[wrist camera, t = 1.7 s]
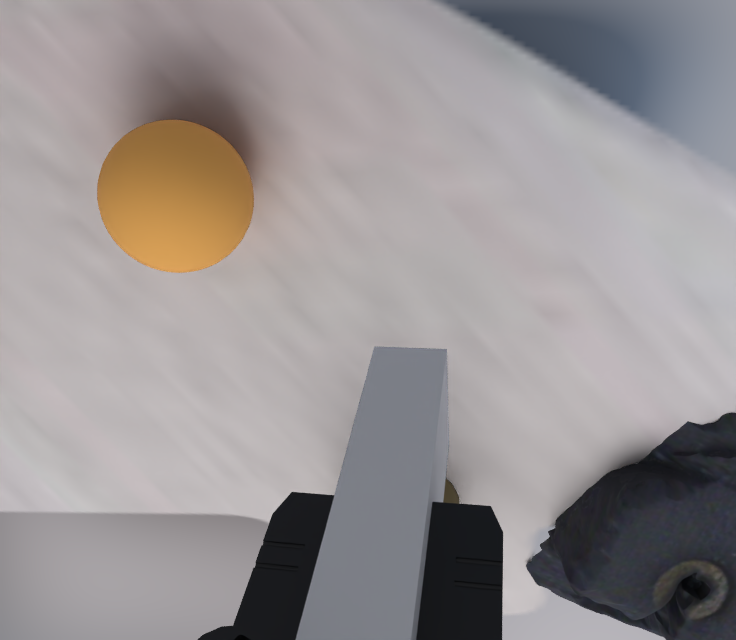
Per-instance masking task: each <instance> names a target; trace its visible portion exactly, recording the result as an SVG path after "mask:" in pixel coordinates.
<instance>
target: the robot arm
mask: <svg viewBox="0 0 736 640" xmlns="http://www.w3.org/2000/svg"><path fill="white" fill-rule="evenodd" d="M448 450H449V424H448V376H447V349H427V348H400V347H374V351H373V354H372V358H371V362H370V365H369V369H368V373H367V376H366V380H365V384H364V388H363V391H362V395H361V399H360V402H359V406H358V410H357V414H356V417H355V421H354V425H353V428H352V432H351V436H350V440H349V443H348V447H347V451H346V454H345V458H344V462H343V466H342V469H341V473H340V477H339V480H338V484H337V488H336V491H335V495H323V494H310V493H298V492H291V494H290V495H289V496H288V497H287V498H286V499H285V501H284V502H283V503H282V504H281V505H280V506H279V507H278V509H277V510H276V511H275V512H274V513H273V515H272V517H271V520H270V523H269V526H268V529H267V532H266V534H265V538H264V540H263V541H264V542H263V546H261V549H260V551H259V554H258V557H257V560H256V566H255V568H253V571H252V574H251V577H250V580H249V582H248V585H247V588H246V591H245V594H244V596H243V599H242V602H241V605H240V608H239V611H238V613H237V616H236V619H235V622H234V625H233V626H226V627H225V626H224V627H220V628H217V629H216V630H213V631H211V632H208V633H206V634H204V635H202V636H201V637H200V638H199V639H198V640H502V586H503V531H502V529H501V527H500V525H499V523H498V521H497V518H496V516H495V514H494V512H493V510H492V508H491V506H482V505H469V504H457V503H444V502H443V499H444V490H445V480H446V470H447V460H448Z"/></svg>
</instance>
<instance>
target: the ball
mask: <svg viewBox="0 0 736 640" xmlns="http://www.w3.org/2000/svg"><path fill="white" fill-rule="evenodd" d="M97 199H98V206H99V210H100V214H101V217H102V220H103V222H104V225H105V227H106V229H107V231H108V233H109V234H110V235H111V237H112V238H113V240H114V241H115V242H116V243H117V245H118V246H119V247H120V248H121V249H122V250H123V251H124V252H126V253H127V254H128V255H129V256H131V257H132V258H134V259H135V260H137V261H138V262H140V263H142V264H144V265H146V266H148V267H151V268H154V269H157V270H161V271H166V272H176V273H183V272H192V271H197V270H201V269H204V268H207V267H210V266H212V265H214V264H216V263H218V262H219V261H221V260H222V259H224V258H225V257H226V256H228V255H229V254H230V253H231V252H232V251H233V250H234V249H235V248H236V247H237V246H238V244H239V243H240V242H241V240H242V239H243V237H244V235H245V233H246V231H247V229H248V227H249V225H250V221H251V218H252V213H253V207H254V194H253V186H252V182H251V178H250V175H249V172H248V170H247V167H246V165H245V164H244V162H243V160H242V158H241V157H240V155H239V154H238V152H237V151H236V150H235V149H234V148H233V146H232V145H231V144H230V143H229V142H227V141H226V140H225V139H224V138H223V137H221V136H220V135H219V134H217V133H216V132H214V131H212V130H211V129H209V128H206V127H204V126H202V125H199V124H196V123H193V122H189V121H184V120H159V121H155V122H151V123H147V124H144V125H142V126H140V127H137V128H136V129H134V130H132V131H131V132H129V133H128V134H126V135H125V136H124V137H122V138H121V139H120V140H119V141H118V142H117V143H116V144H115V145H114V147H113V148H112V149H111V151H110V152H109V154H108V155H107V157H106V159H105V161H104V163H103V165H102V168H101V171H100V175H99V179H98V188H97Z"/></svg>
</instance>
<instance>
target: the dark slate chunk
mask: <svg viewBox="0 0 736 640" xmlns="http://www.w3.org/2000/svg"><path fill="white" fill-rule="evenodd" d="M548 533H549V535H550V537H549V538H548V539H547V540H546V541H545V542H543V543H541V544H540V547H541V549H542V551H541V552H539V553H538V554H536V555H535V556H534V557H533V558H532V562H529V563H527V565H526V567H527V569H528V571H529V573H530V574H531V576H532V577H533V579H534V580H535V582H536V583H537V584H538V585H539V586H543V587H545V588H548V589H549V590H551V591H552V592H553V593H555V594H556V595H558V596H560V597H563V598H565V599H567V600H569V601H572V602H574V603H576V604H578V605H580V606H582V607H584V608H586V609H589V610H592V611H594V612H597V613H600V614H605V615H608V616H610V617H612V618H614V619H617V620H619V621H621V622H623V623H626V624H628V625H632V626H636V627H639V628H642V629H645V630H647V631H649V632H652V633H655V634H657V635H659V636H663V637H664V638H665V639H666V640H736V413H729V414H726V415H724V416H722V417H721V418H720V419H719V420H718V422H716V423H713V424H710V423H707V424H705V425H699V424H695V423H691V422H687V423H686V424H684V425H683V426H682V427H681V428H680V429H678V430H677V431H676V432H674V433H673V434H671V435H670V436H669V437H668V438H666V439H665V440H664V441H663V443H662V444H660V445H659V446H657V447H656V448H655V449H654V450H652V452H651V453H650V454H649V455H648V456H647V457H646V458H644V459H643V460H642V461H640V462H639V463H637V464H633V465H629V466H626V467H624V468H621V469H618V470H613V471H611V472H609V473H607V474H606V475H605V476H603V477H602V478H601V479H600V480H599V481H598V482H597V483H596V484H594V485H593V486H592V487H591V488H589V489H588V490H587V491H586V492H585V493H584V494H583V495H582V497H580V498H579V499H578V500H577V501H576V502H575V503H574V504H573V505H572V506H571V507H570V508H568V509H567V510H566V511H565V512H564V513H563V514H562V515H561V516H559V517H558V519H557V520H556V526H555V528H554V529H553V530H550V531H548Z"/></svg>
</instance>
